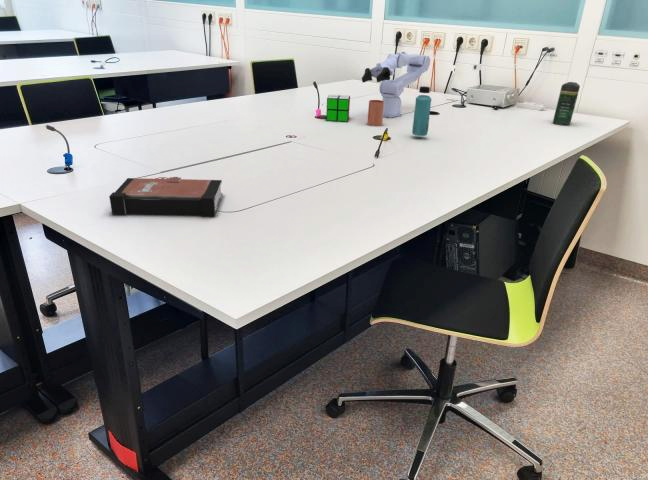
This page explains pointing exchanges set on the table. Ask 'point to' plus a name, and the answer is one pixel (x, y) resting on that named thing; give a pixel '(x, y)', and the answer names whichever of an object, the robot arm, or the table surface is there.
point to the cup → (375, 112)
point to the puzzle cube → (338, 108)
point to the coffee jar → (566, 103)
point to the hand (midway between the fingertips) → (369, 80)
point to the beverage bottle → (422, 113)
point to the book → (167, 197)
